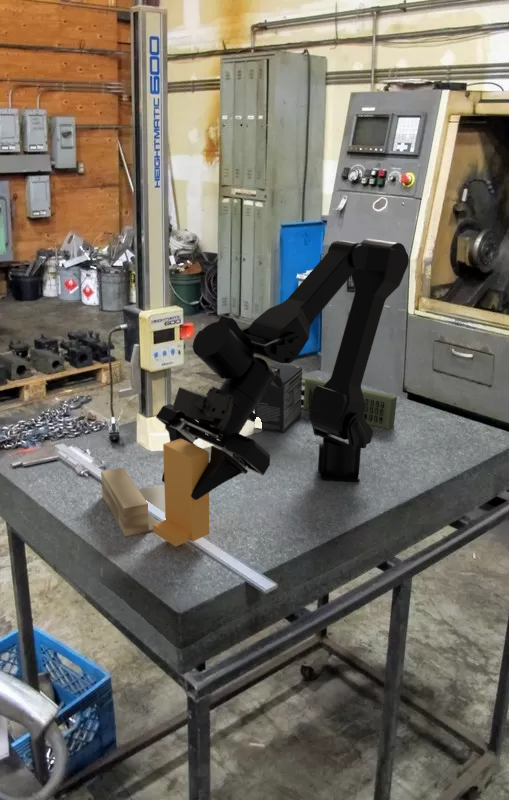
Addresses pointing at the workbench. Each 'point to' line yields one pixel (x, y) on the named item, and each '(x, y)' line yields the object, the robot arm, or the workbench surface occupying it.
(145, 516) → the wooden block on plate
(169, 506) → the orange l-shaped bookend
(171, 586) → the workbench surface
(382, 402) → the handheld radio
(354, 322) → the robot arm
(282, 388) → the small box
